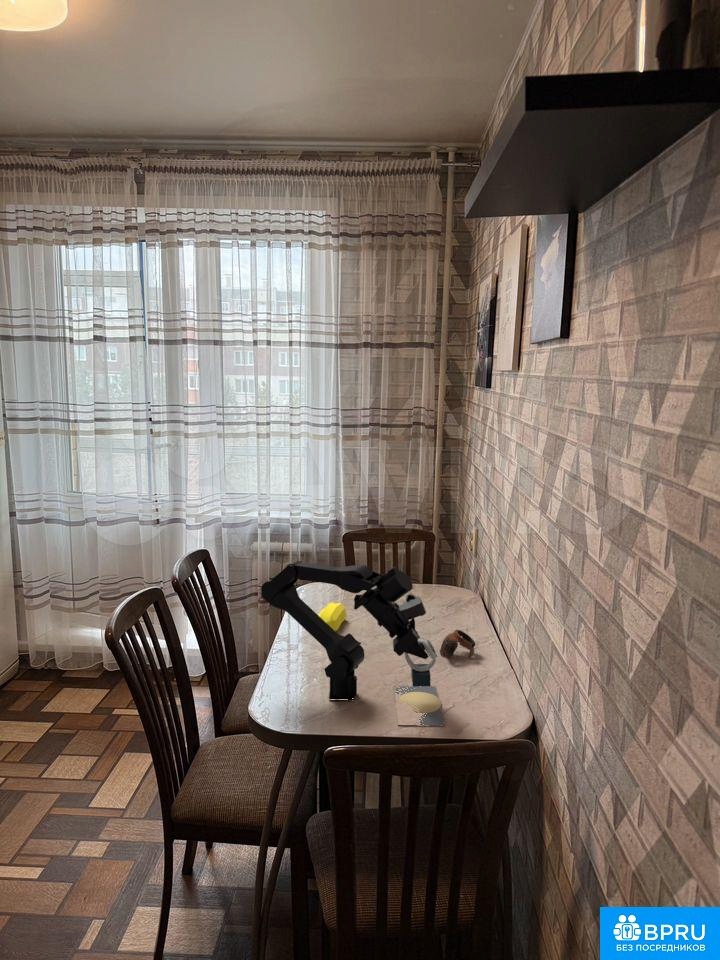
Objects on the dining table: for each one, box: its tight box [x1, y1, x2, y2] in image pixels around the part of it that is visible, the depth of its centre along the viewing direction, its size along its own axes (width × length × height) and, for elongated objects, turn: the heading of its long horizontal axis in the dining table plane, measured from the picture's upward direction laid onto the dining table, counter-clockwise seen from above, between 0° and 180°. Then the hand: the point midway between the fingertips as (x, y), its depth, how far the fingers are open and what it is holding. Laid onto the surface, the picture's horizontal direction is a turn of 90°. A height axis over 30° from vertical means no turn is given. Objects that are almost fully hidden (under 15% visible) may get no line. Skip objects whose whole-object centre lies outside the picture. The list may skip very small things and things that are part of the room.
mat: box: [393, 685, 446, 727], centre depth 163 cm, size 12×20×1 cm, turn 0°
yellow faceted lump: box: [317, 602, 347, 632], centre depth 216 cm, size 18×7×8 cm
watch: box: [404, 637, 438, 687], centre depth 163 cm, size 6×8×11 cm
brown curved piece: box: [439, 629, 477, 659], centre depth 193 cm, size 12×10×8 cm
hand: (426, 653), depth 162 cm, fingers closed on watch, 5 cm apart
